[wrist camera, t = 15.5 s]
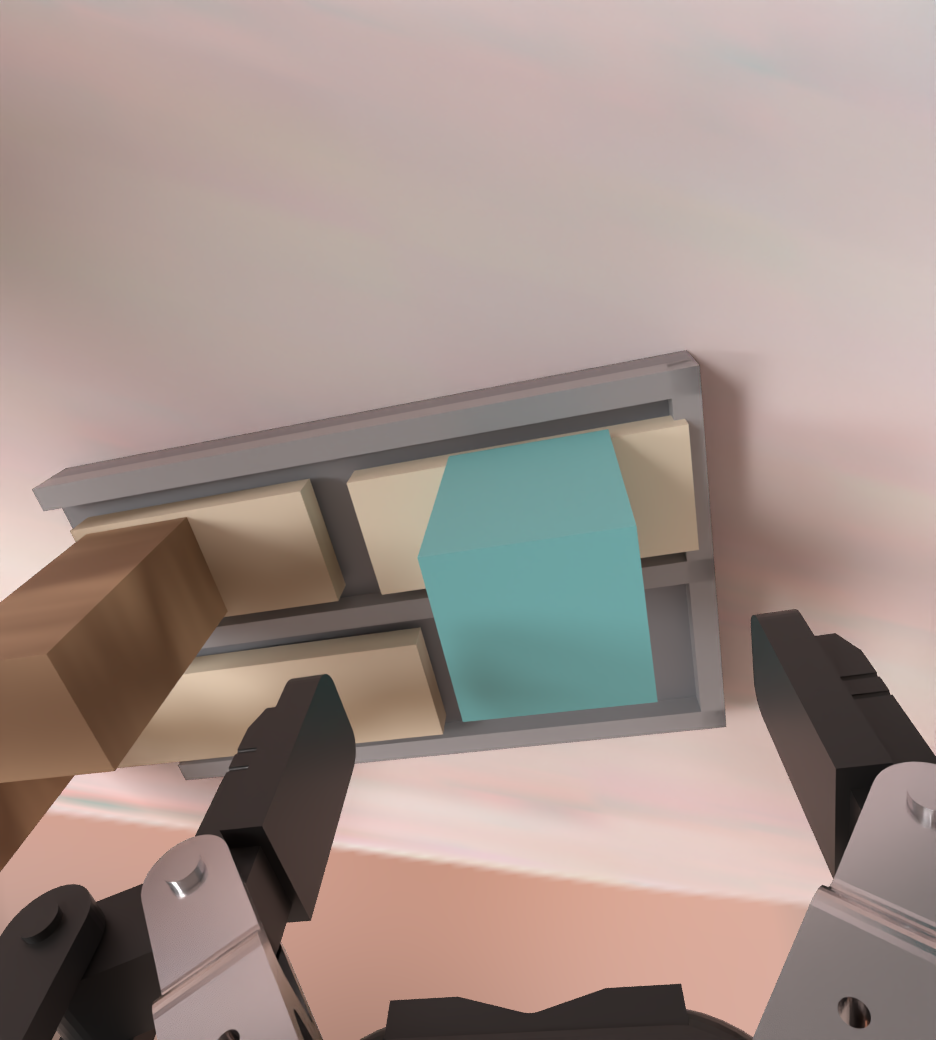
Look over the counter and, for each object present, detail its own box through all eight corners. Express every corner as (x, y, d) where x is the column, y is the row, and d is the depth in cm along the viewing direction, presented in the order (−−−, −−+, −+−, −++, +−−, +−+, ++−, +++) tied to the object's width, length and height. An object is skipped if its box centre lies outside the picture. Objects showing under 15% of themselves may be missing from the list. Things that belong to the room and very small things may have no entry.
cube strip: (-37, 687, 27) (-240, 868, 20) (420, 627, 24) (372, 816, 17) (12, 762, 29) (-159, 953, 22) (446, 715, 26) (412, 921, 19)
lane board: (65, 468, 24) (21, 495, 22) (686, 350, 20) (703, 369, 18) (204, 747, 29) (179, 790, 27) (714, 692, 26) (729, 737, 24)
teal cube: (448, 456, 20) (417, 557, 15) (608, 429, 19) (636, 526, 14) (480, 589, 22) (462, 722, 17) (626, 569, 21) (657, 702, 16)
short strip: (87, 517, 23) (-110, 668, 16) (309, 478, 22) (200, 624, 15) (136, 615, 25) (-23, 791, 18) (345, 585, 24) (263, 762, 16)
